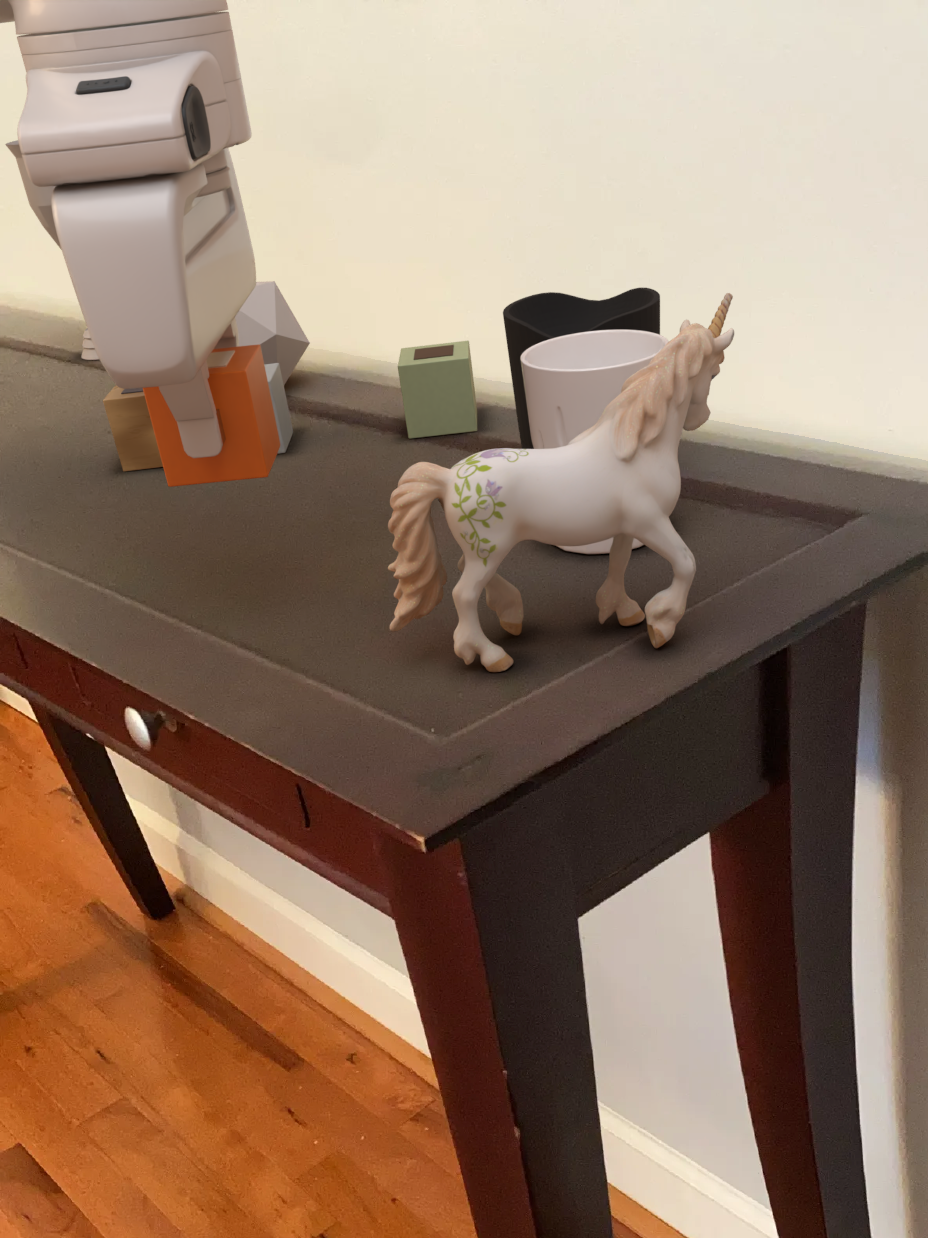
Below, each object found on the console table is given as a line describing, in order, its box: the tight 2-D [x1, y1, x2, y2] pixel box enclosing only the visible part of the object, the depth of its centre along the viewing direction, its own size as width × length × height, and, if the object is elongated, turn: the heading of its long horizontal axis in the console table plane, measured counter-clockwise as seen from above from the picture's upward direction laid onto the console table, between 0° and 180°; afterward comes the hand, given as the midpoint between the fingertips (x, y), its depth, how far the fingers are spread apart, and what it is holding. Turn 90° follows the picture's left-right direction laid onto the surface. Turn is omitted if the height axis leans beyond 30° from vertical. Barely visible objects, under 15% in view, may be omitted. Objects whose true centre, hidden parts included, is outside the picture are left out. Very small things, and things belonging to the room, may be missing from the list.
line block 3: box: [397, 340, 478, 440], centre depth 92 cm, size 5×5×5 cm
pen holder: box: [502, 287, 661, 449], centre depth 79 cm, size 9×9×10 cm
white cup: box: [520, 330, 670, 555], centre depth 70 cm, size 8×8×10 cm
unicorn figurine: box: [387, 292, 735, 673], centre depth 59 cm, size 7×20×13 cm, turn 114°
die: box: [235, 280, 311, 386], centre depth 104 cm, size 8×9×10 cm
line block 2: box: [264, 363, 294, 455], centre depth 92 cm, size 5×5×5 cm
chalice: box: [4, 139, 100, 361], centre depth 119 cm, size 7×7×18 cm
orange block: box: [143, 344, 280, 488], centre depth 63 cm, size 5×5×5 cm
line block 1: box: [102, 384, 163, 472], centre depth 93 cm, size 5×5×5 cm
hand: (218, 433), depth 63 cm, fingers closed on orange block, 5 cm apart
